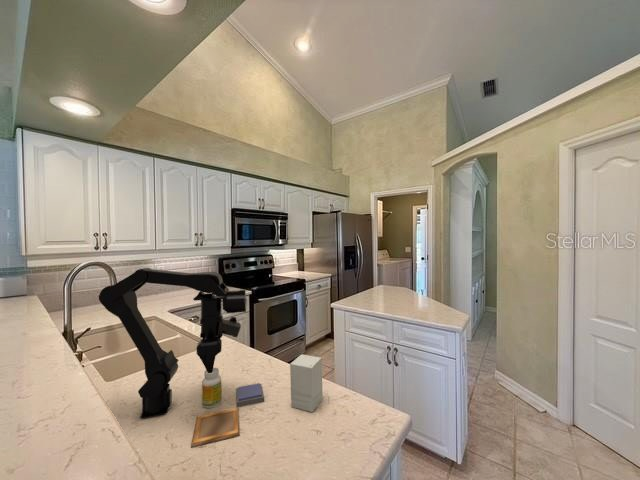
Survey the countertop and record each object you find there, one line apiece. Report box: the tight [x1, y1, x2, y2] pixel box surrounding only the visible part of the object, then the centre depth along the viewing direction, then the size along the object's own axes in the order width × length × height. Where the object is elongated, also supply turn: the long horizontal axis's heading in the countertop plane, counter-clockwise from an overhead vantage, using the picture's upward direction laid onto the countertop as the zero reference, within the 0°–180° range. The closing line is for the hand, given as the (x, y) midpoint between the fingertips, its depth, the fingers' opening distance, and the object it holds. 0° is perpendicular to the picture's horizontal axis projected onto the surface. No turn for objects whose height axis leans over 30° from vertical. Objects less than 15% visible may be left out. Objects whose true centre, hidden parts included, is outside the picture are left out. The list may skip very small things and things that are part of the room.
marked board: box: [190, 407, 241, 448], centre depth 67 cm, size 11×11×1 cm
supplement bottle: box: [201, 367, 222, 409], centre depth 78 cm, size 5×5×10 cm
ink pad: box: [235, 382, 265, 408], centre depth 80 cm, size 8×8×2 cm
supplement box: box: [289, 354, 324, 413], centre depth 77 cm, size 7×7×13 cm
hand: (211, 365), depth 78 cm, fingers open, 9 cm apart
